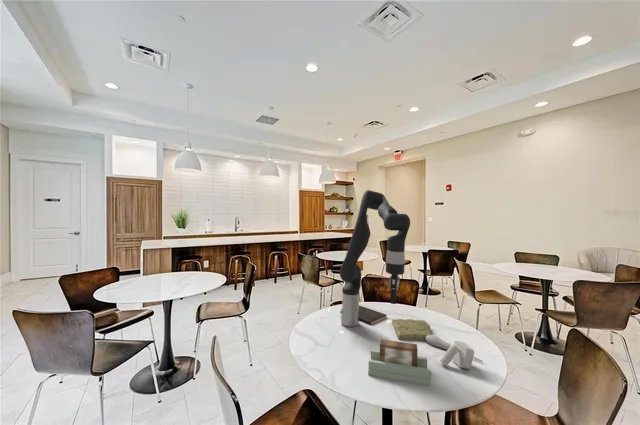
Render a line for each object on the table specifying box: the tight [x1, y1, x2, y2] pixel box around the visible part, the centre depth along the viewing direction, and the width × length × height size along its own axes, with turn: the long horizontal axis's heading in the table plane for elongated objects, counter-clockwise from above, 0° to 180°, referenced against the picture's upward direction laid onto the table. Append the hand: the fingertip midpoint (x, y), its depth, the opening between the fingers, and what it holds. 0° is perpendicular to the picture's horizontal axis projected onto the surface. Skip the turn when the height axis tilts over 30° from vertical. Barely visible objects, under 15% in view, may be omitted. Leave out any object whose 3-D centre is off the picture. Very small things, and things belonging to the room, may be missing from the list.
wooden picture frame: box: [379, 338, 418, 367], centre depth 108 cm, size 14×4×9 cm, turn 74°
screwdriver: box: [425, 334, 484, 363], centre depth 123 cm, size 5×25×4 cm, turn 40°
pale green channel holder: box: [367, 349, 431, 386], centre depth 108 cm, size 22×12×4 cm, turn 73°
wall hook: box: [439, 340, 475, 370], centre depth 112 cm, size 8×10×10 cm
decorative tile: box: [391, 318, 433, 342], centre depth 144 cm, size 19×20×4 cm
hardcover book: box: [339, 304, 388, 326], centre depth 165 cm, size 16×23×2 cm
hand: (393, 300), depth 115 cm, fingers open, 8 cm apart
